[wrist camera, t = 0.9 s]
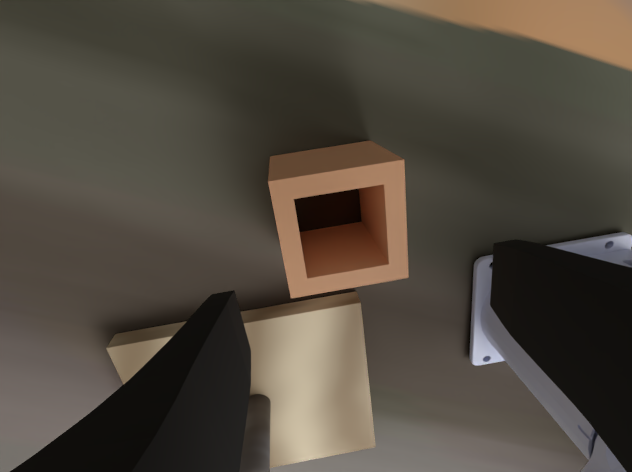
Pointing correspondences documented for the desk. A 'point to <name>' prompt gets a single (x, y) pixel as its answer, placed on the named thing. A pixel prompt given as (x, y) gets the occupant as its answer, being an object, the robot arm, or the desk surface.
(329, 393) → the post board
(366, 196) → the square collar
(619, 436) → the robot arm
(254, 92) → the desk surface
